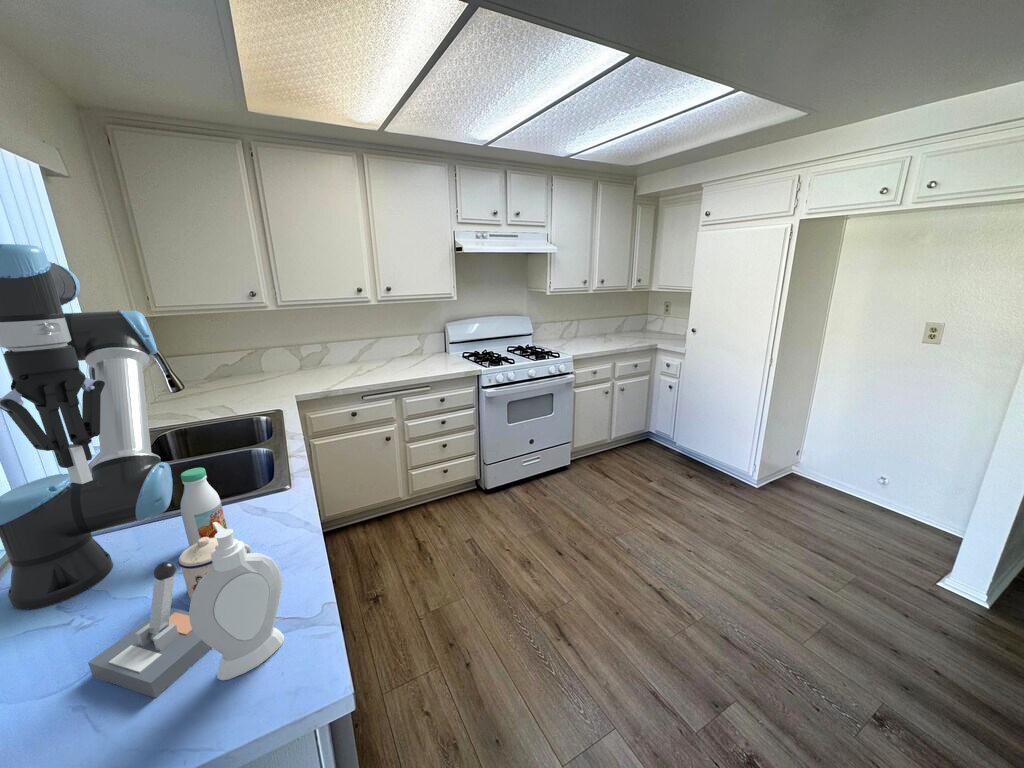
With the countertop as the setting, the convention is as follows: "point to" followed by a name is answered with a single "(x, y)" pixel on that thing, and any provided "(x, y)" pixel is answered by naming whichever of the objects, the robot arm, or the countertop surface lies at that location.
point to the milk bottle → (200, 506)
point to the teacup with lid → (198, 562)
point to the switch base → (151, 656)
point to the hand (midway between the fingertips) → (82, 481)
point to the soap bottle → (237, 606)
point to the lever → (161, 598)
